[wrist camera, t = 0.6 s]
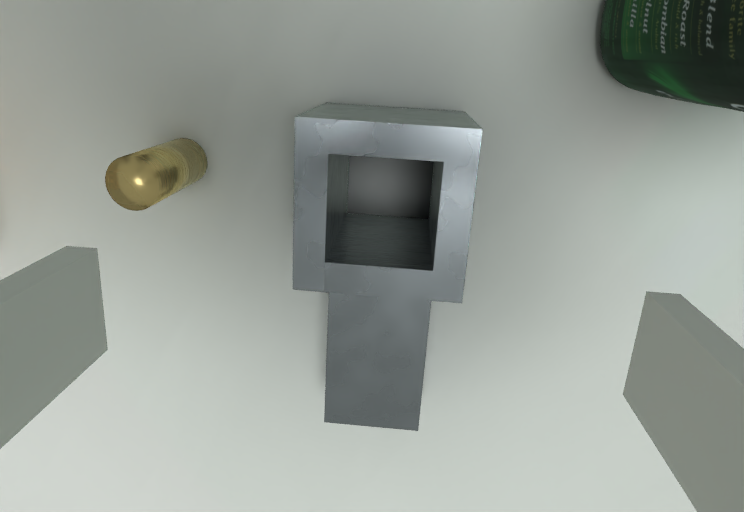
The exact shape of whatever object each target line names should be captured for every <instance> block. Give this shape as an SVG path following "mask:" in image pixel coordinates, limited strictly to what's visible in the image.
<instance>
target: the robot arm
mask: <svg viewBox="0 0 744 512" xmlns="http://www.w3.org/2000/svg"><path fill="white" fill-rule="evenodd" d="M107 350H108V349H107V339H106V329H105V320H104V310H103V300H102V291H101V281H100V271H99V262H98V252H97V248H84V247H72V246H66V247H64V248H62V249H60V250H58V251H56V252H54V253H52V254H50V255H49V256H47V257H45V258H43V259H41V260H39V261H37V262H35V263H33V264H31V265H29V266H27V267H25V268H23V269H22V270H20V271H18V272H16V273H14V274H12V275H10V276H8V277H6V278H4V279H2V280H0V449H1V448H2V447H3V446H4V445H5V444H6V443H7V442H8V441H9V440H10V439H11V438H13V437H14V436H15V435H16V434H17V433H18V432H19V431H20V430H21V429H22V428H23V427H24V426H25V425H27V424H28V423H29V422H30V421H31V420H32V419H33V418H34V417H35V416H36V415H37V414H38V413H40V412H41V411H42V410H43V409H44V408H45V407H46V406H47V405H48V404H49V403H50V402H51V401H53V400H54V399H55V398H56V397H57V396H58V395H59V394H60V393H61V392H62V391H63V390H64V389H65V388H67V387H68V386H69V385H70V384H71V383H72V382H73V381H74V380H75V379H76V378H77V377H78V376H80V375H81V374H82V373H83V372H84V371H85V370H86V369H87V368H88V367H89V366H90V365H91V364H93V363H94V362H95V361H96V360H97V359H98V358H99V357H100V356H101V355H102V354H103V353H104V352H105V351H107ZM623 395H624V397H625V399H626V400H627V402H628V403H629V405H630V406H631V408H632V410H633V411H634V413H635V414H636V416H637V418H638V419H639V421H640V422H641V424H642V425H643V427H644V429H645V430H646V432H647V433H648V435H649V436H650V438H651V440H652V441H653V443H654V444H655V446H656V447H657V449H658V451H659V452H660V454H661V455H662V457H663V458H664V460H665V462H666V463H667V465H668V466H669V468H670V469H671V471H672V473H673V474H674V476H675V477H676V479H677V481H678V482H679V484H680V485H681V487H682V488H683V490H684V492H685V493H686V495H687V496H688V498H689V499H690V501H691V503H692V504H693V506H694V507H695V509H696V510H697V512H744V349H743V348H742V347H741V346H740V345H739V344H738V343H737V342H735V341H734V340H733V339H732V338H731V337H730V336H728V335H727V334H726V333H725V332H724V331H723V330H721V329H720V328H719V327H718V326H717V325H716V324H714V323H713V322H712V321H711V320H710V319H709V318H707V317H706V316H705V315H704V314H703V313H702V312H700V311H699V310H698V309H697V308H696V307H695V306H693V305H692V304H691V303H690V302H689V301H688V300H686V299H685V298H684V297H683V296H682V295H681V294H672V293H659V292H646V296H645V300H644V305H643V309H642V313H641V318H640V322H639V326H638V331H637V335H636V339H635V344H634V348H633V353H632V357H631V361H630V366H629V370H628V374H627V379H626V383H625V387H624V392H623Z"/></svg>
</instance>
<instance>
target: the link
mask: <svg viewBox="0 0 744 512" xmlns="http://www.w3.org/2000/svg"><path fill="white" fill-rule="evenodd" d="M482 131H483V129H482V128H481V127H480V126H479V125H478V124H477V123H476V122H475V121H474V120H473V119H472V118H471V117H470V116H469V115H468V114H467V113H466V112H464V111H448V110H433V109H418V108H402V107H387V106H371V105H356V104H341V103H324V104H322V105H320V106H318V107H315V108H313V109H311V110H309V111H307V112H304V113H302V114H300V115H298V116H296V117H295V151H294V227H293V289H294V290H306V291H318V292H329V306H328V334H327V362H326V390H325V418H324V422H329V423H340V424H350V425H361V426H372V427H383V428H394V429H404V430H415V431H418V426H419V416H420V406H421V396H422V386H423V376H424V366H425V356H426V346H427V336H428V326H429V316H430V306H431V301H441V302H453V303H462V299H463V290H464V282H465V273H466V265H467V257H468V248H469V240H470V232H471V223H472V215H473V206H474V198H475V190H476V181H477V173H478V165H479V156H480V148H481V139H482ZM349 155H351V156H366V157H380V158H394V159H409V160H423V161H434V166H433V177H432V187H431V198H430V209H429V219H419V218H405V217H392V216H379V215H365V214H352V213H347V200H348V178H349Z"/></svg>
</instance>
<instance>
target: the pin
mask: <svg viewBox="0 0 744 512" xmlns="http://www.w3.org/2000/svg"><path fill="white" fill-rule="evenodd" d="M206 168H207V159H206V155H205V153H204V151H203V149H202V148H201V147H200V146H199V145H198V144H197V143H196V142H194V141H192V140H189V139H185V138H180V139H176V140H173V141H169V142H166V143H163V144H160V145H157V146H154V147H151V148H148V149H144V150H141V151H138V152H135V153H132V154H129V155H126V156H123V157H120V158H117V159H116V160H114V161H113V162H112V163H111V164H110V165H109V167H108V169H107V171H106V176H105V182H106V187H107V190H108V192H109V194H110V196H111V197H112V199H113V200H114V201H115V202H116V203H117V204H119V205H120V206H122V207H124V208H126V209H129V210H136V211H138V210H143V209H146V208H148V207H150V206H152V205H154V204H156V203H157V202H159V201H161V200H163V199H165V198H167V197H169V196H170V195H172V194H174V193H176V192H178V191H180V190H181V189H183V188H185V187H187V186H189V185H191V184H192V183H194V182H196V181H198V180H199V179H201V178H202V176H203V175H204V174H205V172H206Z"/></svg>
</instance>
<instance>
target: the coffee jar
mask: <svg viewBox="0 0 744 512" xmlns="http://www.w3.org/2000/svg"><path fill="white" fill-rule="evenodd" d="M600 46H601V52H602V57H603V60H604V62H605V65H606V67H607V69H608V70H609V72H610V73H611V75H612V76H613V77H614V78H615V79H617V80H618V81H619V82H620V83H622V84H623V85H625V86H627V87H629V88H632V89H635V90H638V91H641V92H645V93H649V94H653V95H657V96H661V97H666V98H671V99H676V100H681V101H686V102H691V103H697V104H703V105H709V106H716V107H723V108H728V109H733V110H738V111H743V112H744V0H606V1H605V7H604V11H603V16H602V25H601V40H600Z"/></svg>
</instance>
